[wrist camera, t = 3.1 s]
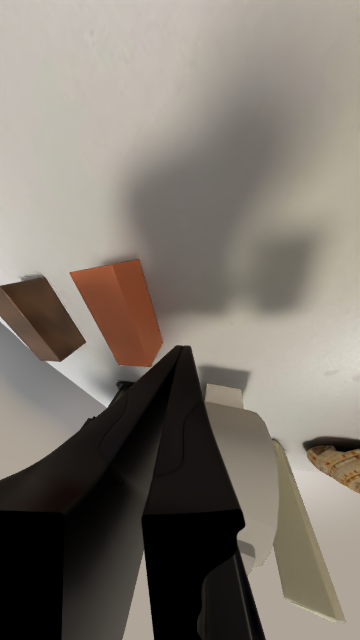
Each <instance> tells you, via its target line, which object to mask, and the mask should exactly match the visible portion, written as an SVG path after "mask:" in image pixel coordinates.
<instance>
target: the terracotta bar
mask: <svg viewBox="0 0 360 640" xmlns="http://www.w3.org/2000/svg"><path fill="white" fill-rule="evenodd" d="M70 275H71V277H72V279H73V281H74V283H75V285H76V286H77V288H78V290H79V292H80V294H81V296H82V298H83V299H84V301H85V303H86V305H87V307H88V309H89V311H90V312H91V314H92V316H93V318H94V320H95V322H96V324H97V325H98V327H99V329H100V331H101V333H102V335H103V337H104V338H105V340H106V342H107V344H108V346H109V348H110V350H111V351H112V353H113V355H114V357H115V359H116V361H117V363H118V364H119V365H127V366H144V367H151V365H152V363H153V361H154V359H155V357H156V355H157V354H158V352H159V350H160V348H161V346H162V344H163V341H162V337H161V334H160V330H159V327H158V324H157V320H156V317H155V313H154V310H153V306H152V303H151V299H150V296H149V292H148V289H147V285H146V282H145V278H144V275H143V271H142V268H141V264H140V261H139V259H137V260H132V261H126V262H121V263H116V264H111V265H106V266H100V267H95V268H90V269H85V270H80V271H74V272H70Z"/></svg>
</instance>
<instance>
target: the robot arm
mask: <svg viewBox="0 0 360 640" xmlns="http://www.w3.org/2000/svg"><path fill="white" fill-rule="evenodd" d="M116 385H117V387H118V389H119V391H118V392H117V394H116V395H115V397H114V399H113V400H112V402H111V403H110V405H109V406H108V408H107V409H106V410H104V411H103V412H102V413H101V414H100V415H98V416H97V417H95V416H94V417H93V418H92V419H91V418H88V419H87V421H86V422H85V424H84V425H83V426H82V428H81V429H80V430H79V431H78V432H77V433H76V434H75V435H73V436H72V437H71V438H69V439H68V440H67V441H66V442H65V443H63V444H62V445H61V446H59V447H58V448H57V449H56V450H54V451H53V452H52V453H51V454H49V455H47V456H46V457H45V458H43V459H42V460H40V461H39V462H37V463H35V464H33V465H31V466H30V467H28V468H26V469H24V470H22V471H20V472H18V473H16V474H13V475H11V476H9V477H6V478H4V479H2V480H0V640H122V638H123V635H124V631H125V627H126V623H127V618H128V615H129V610H130V606H131V602H132V598H133V593H134V589H135V585H136V581H137V576H138V572H139V568H140V564H141V560H142V555H143V551H144V552H145V561H146V569H147V579H148V588H149V597H150V605H151V615H152V624H153V633H154V640H266V639H265V636H264V632H263V629H262V625H261V622H260V618H259V615H258V611H257V608H256V605H255V601H254V598H253V594H252V591H251V588H250V584H249V581H248V577H247V574H246V570H245V567H244V564H243V560H242V557H241V553H240V550H239V546H238V543H237V535H238V533H239V531H240V530H242V529H243V528H244V527H245V525H246V523H245V519H244V515H243V512H242V509H241V506H240V504H239V501H238V498H237V496H236V493H235V490H234V488H233V485H232V482H231V479H230V477H229V474H228V471H227V469H226V466H225V463H224V461H223V458H222V455H221V453H220V450H219V447H218V445H217V442H216V439H215V436H214V433H213V430H212V427H211V424H210V420H209V417H208V413H207V410H206V406H205V402H204V398H203V394H202V390H201V386H200V382H199V378H198V373H197V369H196V365H195V361H194V357H193V353H192V349H191V346H181V345H177V346H175V347H174V348H173V349H172V350H171V351H170V352H169V353H168V354H166V355H165V356H164V357H163V358H162V359H161V360H160V361H159V362H158V363H157V364H155V365H154V366H153V367H152V368H151V369H150V370H149V371H148V372H147V373H146V374H145V375H143V376H142V377H141V378H140V379H139V380H138V381H137V382H136V383H130V382H120V381H118V382H117V383H116Z"/></svg>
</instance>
